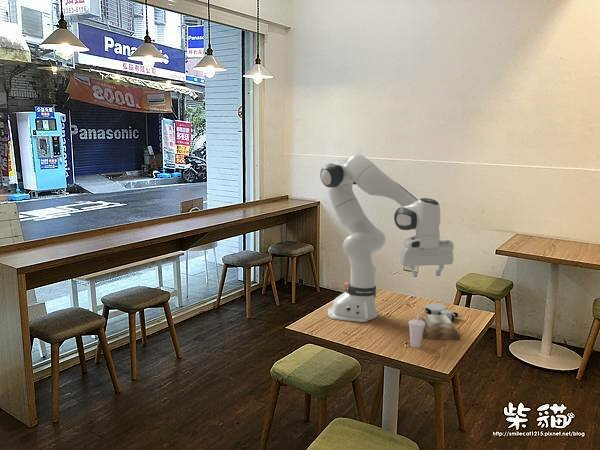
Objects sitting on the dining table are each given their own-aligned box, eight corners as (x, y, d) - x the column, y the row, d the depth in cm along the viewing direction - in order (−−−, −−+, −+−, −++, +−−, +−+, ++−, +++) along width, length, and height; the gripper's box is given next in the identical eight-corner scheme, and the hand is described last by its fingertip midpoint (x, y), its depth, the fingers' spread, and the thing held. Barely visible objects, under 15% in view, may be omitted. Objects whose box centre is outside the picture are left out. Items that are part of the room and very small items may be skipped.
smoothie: (426, 345, 194) (429, 311, 191) (418, 350, 189) (421, 315, 187) (412, 340, 198) (414, 307, 195) (403, 345, 193) (406, 311, 191)
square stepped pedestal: (424, 338, 200) (425, 324, 199) (417, 325, 214) (418, 312, 213) (459, 339, 200) (460, 325, 199) (449, 326, 214) (450, 313, 213)
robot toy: (462, 322, 222) (437, 309, 234) (464, 312, 221) (439, 300, 233) (443, 327, 216) (418, 313, 228) (444, 317, 214) (420, 304, 227)
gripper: (450, 238, 193) (448, 272, 196) (399, 240, 191) (398, 275, 193) (457, 241, 187) (455, 277, 189) (404, 243, 185) (403, 279, 187)
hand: (426, 276), depth 191 cm, fingers open, 8 cm apart
